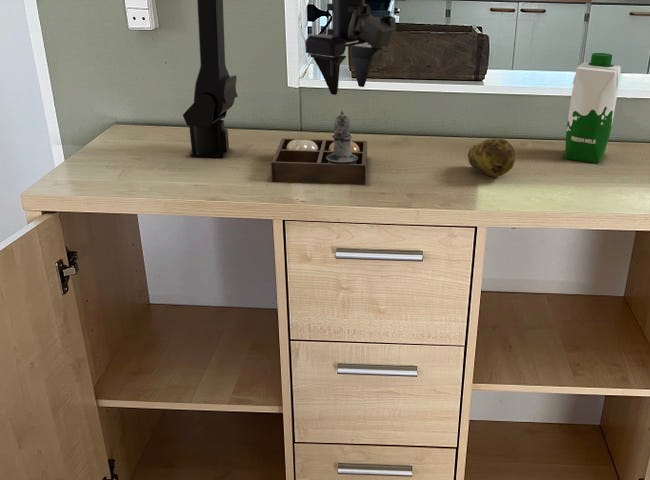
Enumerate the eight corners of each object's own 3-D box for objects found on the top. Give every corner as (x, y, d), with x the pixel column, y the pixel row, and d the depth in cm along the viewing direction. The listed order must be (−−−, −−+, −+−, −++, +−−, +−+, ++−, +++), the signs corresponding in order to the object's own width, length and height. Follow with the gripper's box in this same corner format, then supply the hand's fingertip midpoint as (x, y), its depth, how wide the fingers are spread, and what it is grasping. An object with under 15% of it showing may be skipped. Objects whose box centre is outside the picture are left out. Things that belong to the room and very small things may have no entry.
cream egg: (284, 165, 146) (284, 142, 144) (287, 159, 150) (286, 136, 148) (318, 166, 147) (317, 143, 144) (319, 160, 150) (319, 137, 148)
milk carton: (608, 154, 162) (626, 55, 152) (601, 165, 154) (619, 61, 144) (567, 149, 164) (582, 50, 154) (559, 159, 157) (573, 56, 147)
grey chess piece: (360, 172, 144) (360, 107, 138) (355, 182, 139) (356, 115, 133) (329, 170, 144) (328, 105, 138) (323, 180, 139) (322, 113, 133)
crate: (272, 181, 137) (271, 162, 136) (282, 155, 152) (281, 138, 150) (365, 184, 138) (365, 165, 136) (366, 158, 153) (367, 140, 151)
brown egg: (327, 166, 147) (326, 143, 144) (328, 160, 150) (328, 137, 148) (360, 167, 147) (360, 145, 145) (360, 161, 151) (360, 139, 148)
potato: (507, 168, 150) (512, 127, 146) (514, 188, 139) (519, 144, 135) (465, 166, 150) (469, 125, 146) (469, 186, 139) (473, 142, 135)
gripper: (358, 6, 123) (357, 105, 131) (414, -2, 137) (410, 88, 145) (302, 0, 127) (304, 96, 135) (362, -7, 141) (361, 81, 149)
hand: (348, 90), depth 141 cm, fingers open, 9 cm apart
